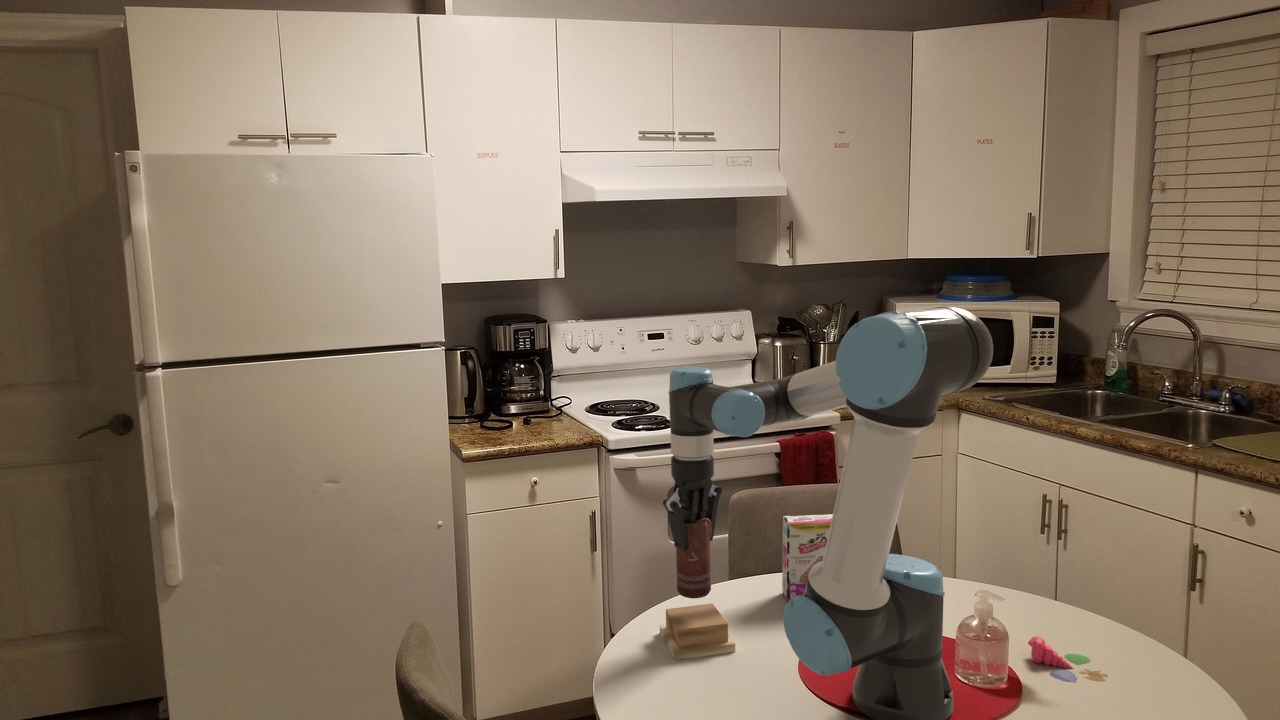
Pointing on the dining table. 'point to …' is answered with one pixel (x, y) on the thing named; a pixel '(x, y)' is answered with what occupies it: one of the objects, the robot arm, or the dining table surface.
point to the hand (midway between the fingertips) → (694, 582)
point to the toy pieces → (1061, 662)
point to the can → (695, 561)
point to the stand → (696, 632)
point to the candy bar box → (802, 549)
